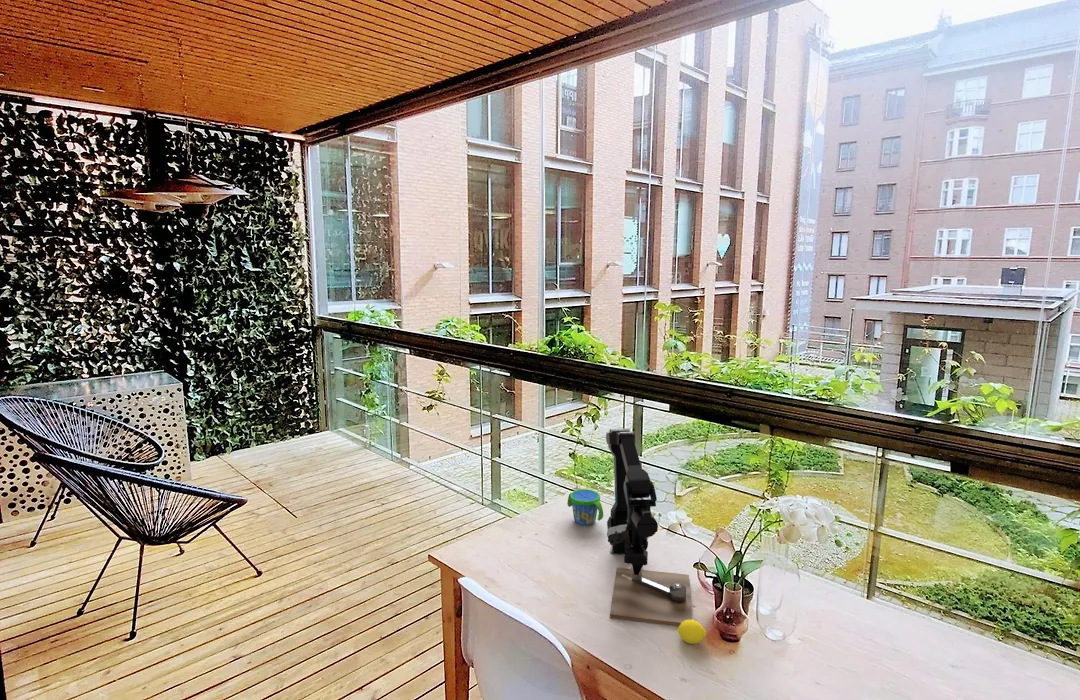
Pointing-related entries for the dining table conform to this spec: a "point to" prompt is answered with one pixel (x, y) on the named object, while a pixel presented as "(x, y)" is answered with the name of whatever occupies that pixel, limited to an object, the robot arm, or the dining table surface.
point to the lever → (662, 587)
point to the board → (649, 599)
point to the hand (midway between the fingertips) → (636, 571)
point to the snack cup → (585, 506)
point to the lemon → (691, 631)
